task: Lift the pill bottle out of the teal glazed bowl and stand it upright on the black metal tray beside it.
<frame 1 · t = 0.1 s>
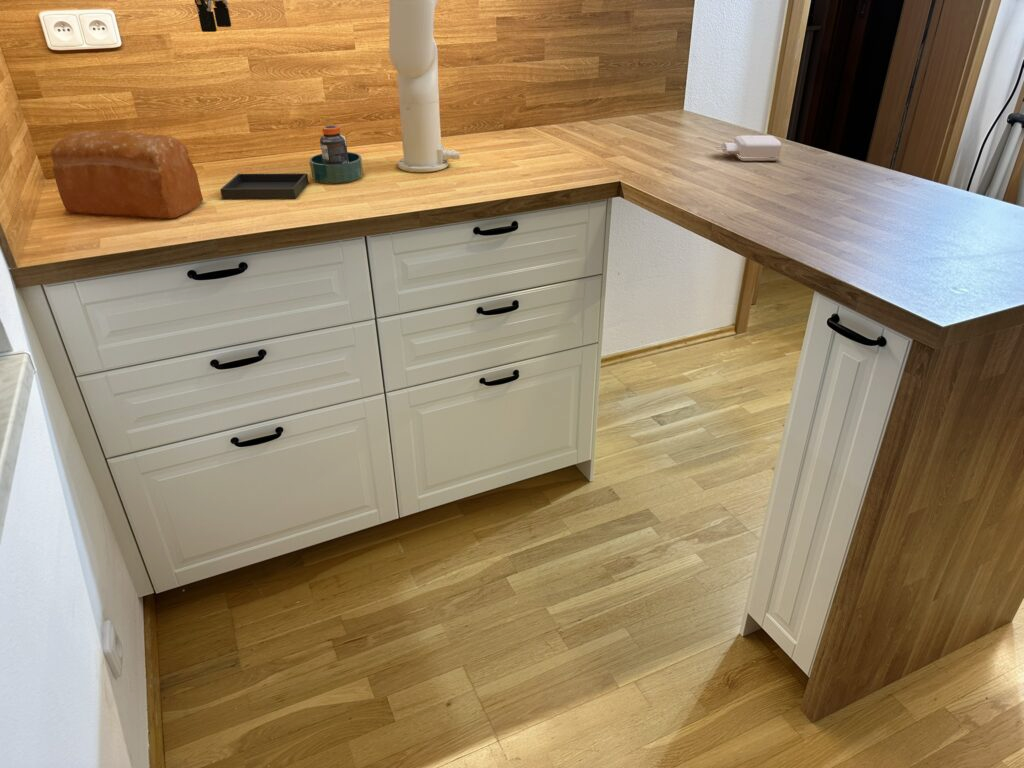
hand: (217, 29, 166), 31 cm above the countertop, tool pointing down, fingers open, 9 cm apart
tray: (266, 190, 166), on the countertop
bread: (136, 209, 156), on the countertop
pill bottle: (337, 176, 175), resting on bowl
bowl: (337, 177, 175), on the countertop
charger: (743, 158, 188), on the countertop
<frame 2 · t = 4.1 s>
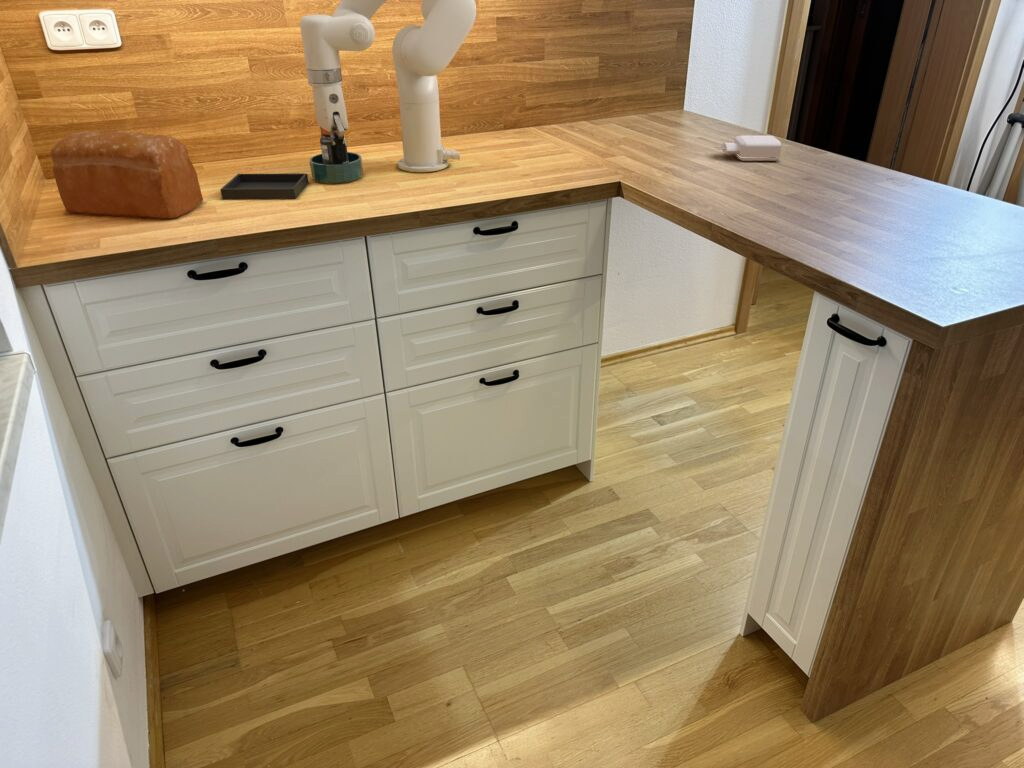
hand: (335, 157, 172), 5 cm above the countertop, tool pointing down, fingers closed on pill bottle, 6 cm apart
pill bottle: (337, 176, 175), resting on bowl, touching gripper
everything else where it was.
when the fingers open (5 cm above the countertop, at t = 11.2 s): pill bottle stays where it is, resting on tray.
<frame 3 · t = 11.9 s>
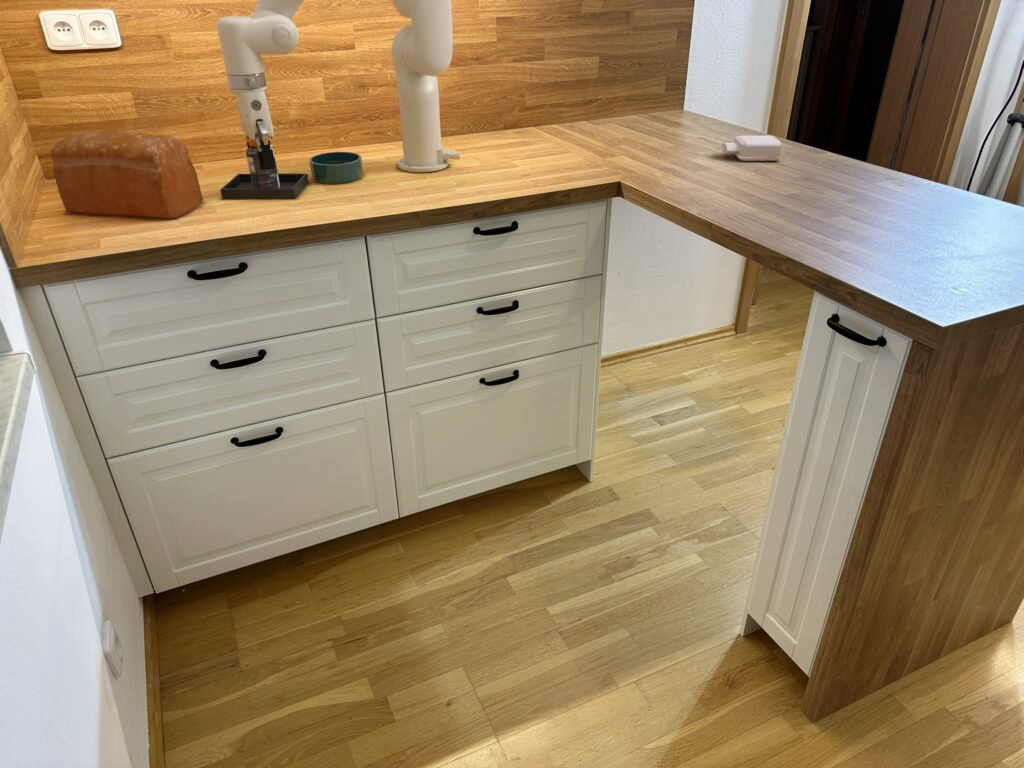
hand: (262, 163, 163), 6 cm above the countertop, tool pointing down, fingers open, 9 cm apart
pill bottle: (266, 189, 166), resting on tray
everything else where it was.
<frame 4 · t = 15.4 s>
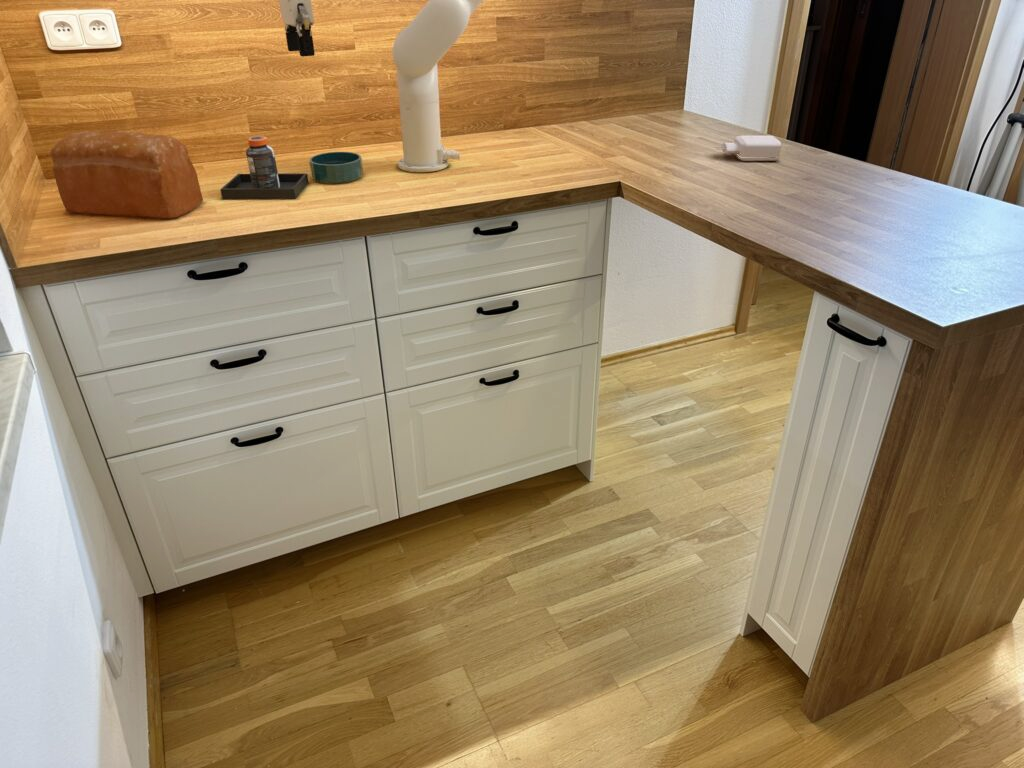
hand: (301, 53, 167), 26 cm above the countertop, tool pointing down, fingers open, 9 cm apart
nothing on the countertop moved.
at the end: pill bottle inside the target area in the tray (0.1 cm from its centre), point 0.2 cm above the tray's base; pill bottle tilted 0°; the gripper is holding nothing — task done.
